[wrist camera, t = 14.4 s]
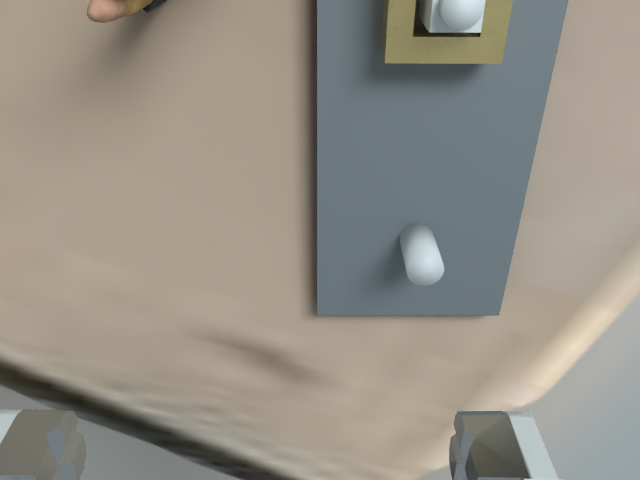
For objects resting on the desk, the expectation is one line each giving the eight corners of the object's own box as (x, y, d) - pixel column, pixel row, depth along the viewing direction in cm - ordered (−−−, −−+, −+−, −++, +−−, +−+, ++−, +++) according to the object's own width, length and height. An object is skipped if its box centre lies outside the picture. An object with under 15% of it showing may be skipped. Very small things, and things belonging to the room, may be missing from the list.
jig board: (317, 303, 45) (316, 361, 39) (317, -211, 28) (316, -236, 22) (493, 303, 45) (518, 361, 39) (601, -210, 28) (671, -235, 22)
